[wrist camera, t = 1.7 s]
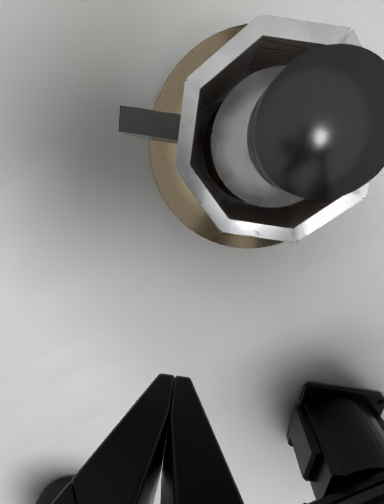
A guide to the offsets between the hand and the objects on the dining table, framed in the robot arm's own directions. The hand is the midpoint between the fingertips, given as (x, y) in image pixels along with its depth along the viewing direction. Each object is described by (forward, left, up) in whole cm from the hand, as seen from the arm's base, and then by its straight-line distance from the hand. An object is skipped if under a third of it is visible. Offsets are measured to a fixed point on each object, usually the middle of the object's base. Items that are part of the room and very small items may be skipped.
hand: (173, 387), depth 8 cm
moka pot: (-3, -7, -13) cm, 15 cm away
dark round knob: (-3, -7, -7) cm, 10 cm away
